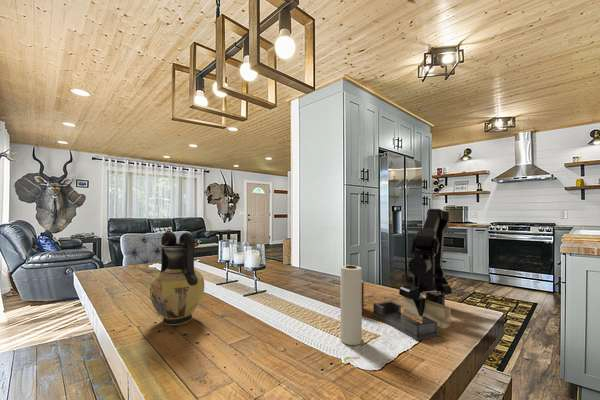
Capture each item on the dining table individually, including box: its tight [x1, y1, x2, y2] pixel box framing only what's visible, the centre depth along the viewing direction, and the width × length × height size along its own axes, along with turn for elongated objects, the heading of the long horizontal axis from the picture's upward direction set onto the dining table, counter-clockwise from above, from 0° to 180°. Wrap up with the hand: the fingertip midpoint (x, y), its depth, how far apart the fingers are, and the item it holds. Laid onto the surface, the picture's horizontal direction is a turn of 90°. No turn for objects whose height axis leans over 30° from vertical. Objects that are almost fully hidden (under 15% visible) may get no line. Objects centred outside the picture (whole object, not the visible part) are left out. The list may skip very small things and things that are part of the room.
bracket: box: [371, 300, 441, 342], centre depth 94 cm, size 9×22×4 cm, turn 21°
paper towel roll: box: [339, 263, 363, 346], centre depth 83 cm, size 7×6×21 cm
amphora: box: [149, 231, 205, 326], centre depth 96 cm, size 18×17×30 cm
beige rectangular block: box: [403, 296, 452, 329], centre depth 99 cm, size 4×16×6 cm, turn 28°
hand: (425, 315), depth 99 cm, fingers closed on beige rectangular block, 4 cm apart
